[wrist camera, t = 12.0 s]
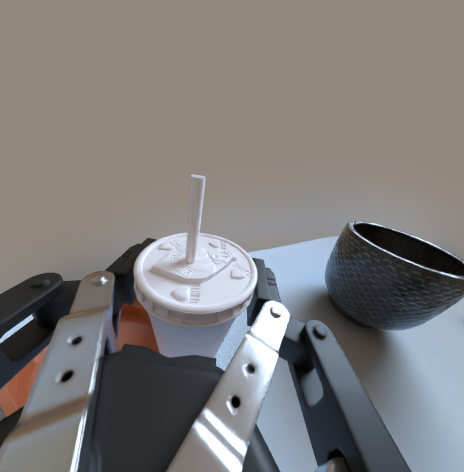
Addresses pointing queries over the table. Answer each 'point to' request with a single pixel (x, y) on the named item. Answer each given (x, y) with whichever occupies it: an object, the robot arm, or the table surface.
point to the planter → (391, 277)
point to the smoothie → (193, 285)
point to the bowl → (18, 388)
